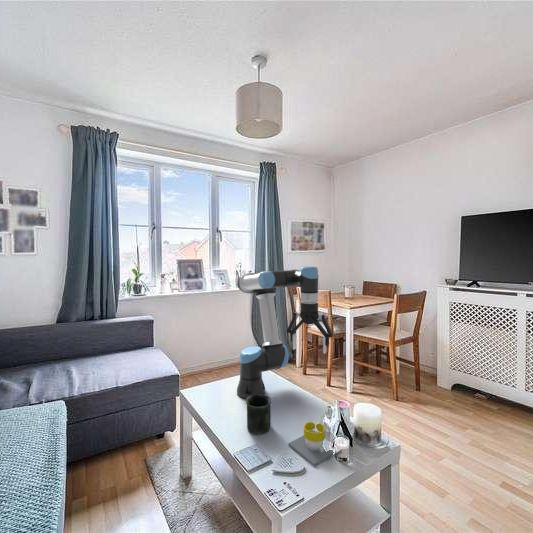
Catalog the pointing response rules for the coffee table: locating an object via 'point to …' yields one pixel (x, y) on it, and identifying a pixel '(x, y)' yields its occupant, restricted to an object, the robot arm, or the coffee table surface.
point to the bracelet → (314, 436)
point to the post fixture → (310, 450)
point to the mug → (258, 414)
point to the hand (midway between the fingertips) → (309, 350)
